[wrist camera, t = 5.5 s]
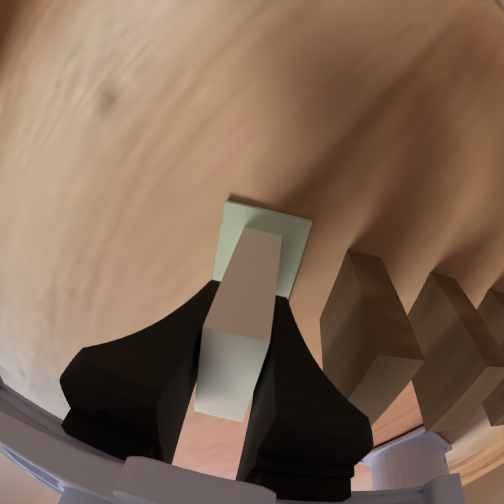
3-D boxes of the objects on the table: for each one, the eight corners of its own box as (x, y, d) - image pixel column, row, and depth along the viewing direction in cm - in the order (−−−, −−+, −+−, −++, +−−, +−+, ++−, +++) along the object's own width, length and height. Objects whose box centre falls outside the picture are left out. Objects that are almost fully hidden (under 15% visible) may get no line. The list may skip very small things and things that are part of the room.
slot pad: (312, 220, 14) (312, 222, 13) (278, 325, 17) (277, 328, 16) (226, 199, 14) (225, 201, 14) (208, 308, 17) (207, 311, 16)
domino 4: (504, 293, 14) (557, 368, 8) (472, 345, 16) (508, 423, 10) (488, 288, 14) (544, 368, 8) (455, 343, 16) (491, 426, 10)
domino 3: (453, 278, 14) (511, 367, 8) (419, 338, 16) (452, 430, 10) (430, 272, 14) (487, 366, 8) (396, 334, 16) (425, 432, 10)
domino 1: (282, 235, 14) (270, 342, 8) (262, 310, 16) (242, 422, 10) (243, 226, 14) (203, 326, 8) (229, 302, 16) (194, 410, 10)
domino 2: (380, 258, 14) (425, 360, 8) (349, 325, 16) (365, 431, 10) (347, 249, 14) (378, 354, 8) (319, 319, 16) (325, 428, 10)
